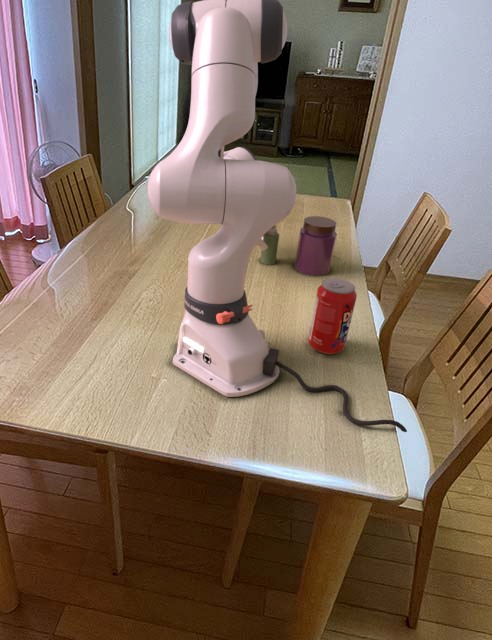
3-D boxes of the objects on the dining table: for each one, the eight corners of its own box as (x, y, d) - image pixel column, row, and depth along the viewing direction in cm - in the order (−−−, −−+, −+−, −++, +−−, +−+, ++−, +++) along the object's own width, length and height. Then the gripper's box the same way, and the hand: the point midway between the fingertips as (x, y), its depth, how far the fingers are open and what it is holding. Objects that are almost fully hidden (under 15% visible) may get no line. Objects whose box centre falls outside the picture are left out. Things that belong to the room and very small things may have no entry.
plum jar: (336, 270, 139) (346, 224, 132) (312, 278, 134) (321, 230, 127) (311, 258, 146) (319, 213, 139) (287, 265, 141) (294, 218, 133)
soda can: (300, 339, 107) (311, 278, 99) (330, 334, 109) (343, 274, 102) (319, 359, 101) (333, 296, 93) (351, 353, 103) (366, 291, 95)
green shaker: (278, 262, 142) (283, 231, 137) (267, 265, 140) (271, 233, 135) (268, 257, 145) (272, 226, 140) (257, 260, 143) (261, 228, 138)
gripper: (238, 208, 127) (270, 250, 129) (258, 189, 144) (286, 225, 146) (221, 222, 130) (252, 262, 133) (242, 201, 147) (269, 237, 150)
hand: (270, 243), depth 140 cm, fingers open, 8 cm apart
